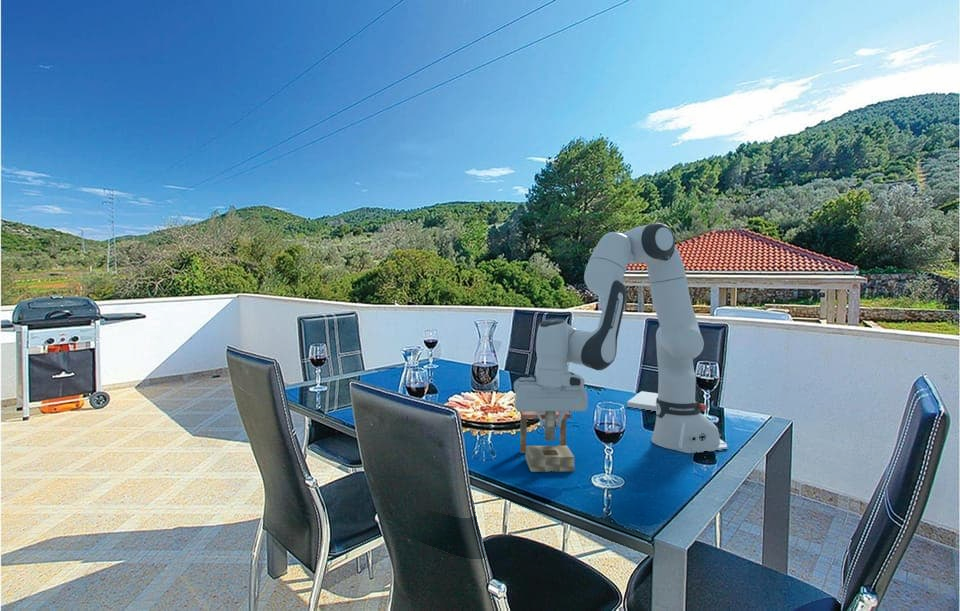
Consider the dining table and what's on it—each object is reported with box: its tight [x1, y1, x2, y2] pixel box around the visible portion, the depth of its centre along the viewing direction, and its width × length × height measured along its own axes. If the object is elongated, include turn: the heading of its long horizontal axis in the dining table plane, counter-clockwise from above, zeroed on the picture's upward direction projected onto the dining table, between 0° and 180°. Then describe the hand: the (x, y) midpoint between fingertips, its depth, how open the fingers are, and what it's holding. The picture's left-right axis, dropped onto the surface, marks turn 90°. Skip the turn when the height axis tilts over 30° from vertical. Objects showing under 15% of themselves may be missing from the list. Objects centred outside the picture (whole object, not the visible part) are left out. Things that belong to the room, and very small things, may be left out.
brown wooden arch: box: [519, 411, 572, 454], centre depth 145 cm, size 14×7×13 cm, turn 93°
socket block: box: [525, 445, 575, 473], centre depth 138 cm, size 12×9×4 cm
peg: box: [544, 411, 556, 442], centre depth 136 cm, size 3×3×8 cm
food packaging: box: [626, 390, 658, 412], centre depth 203 cm, size 15×3×20 cm
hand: (550, 426), depth 136 cm, fingers closed on peg, 3 cm apart
